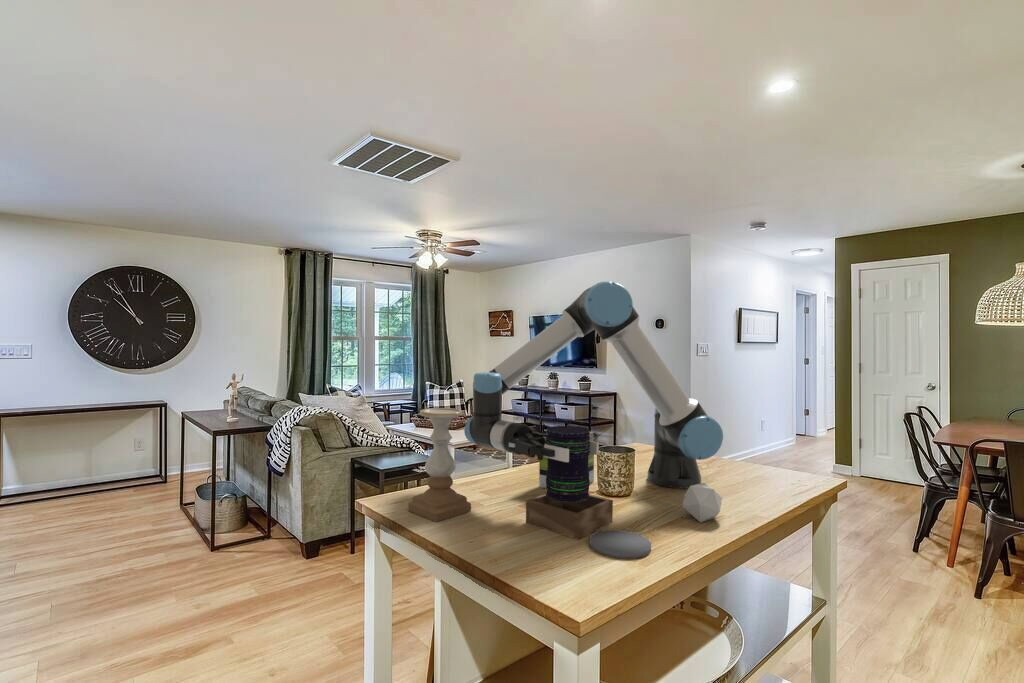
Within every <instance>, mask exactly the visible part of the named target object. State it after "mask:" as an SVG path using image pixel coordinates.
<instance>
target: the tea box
mask: <svg viewBox="0 0 1024 683" xmlns="http://www.w3.org/2000/svg"><path fill="white" fill-rule="evenodd" d="M594 434H595V433H594V431H590V434H589V436H590V441H593V442H595V439H594V437H595V435H594ZM545 445H546V443H545ZM538 467H539V469H538V470H539V471H538V472H539V474H538V476H539V477H538V480H539V484H538V485H539V487H540V488H543V489H546V490H547V488H546V478H547V477H546V471H547V469H548V458H546V457H544V456H543V460H539V464H538ZM588 471H589V480H590V483H593V482H594V481H595V456H594V454H589V456H588Z"/></svg>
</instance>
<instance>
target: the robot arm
mask: <svg viewBox="0 0 1024 683" xmlns="http://www.w3.org/2000/svg"><path fill="white" fill-rule="evenodd" d="M639 321H640V315H639V313H638V312H637V311H636V309H635V307H634V304H633V299H632V296H631V293H630V291H628V289H627V288H626V287H625V286H624V285H622V284H621V283H620V284H619V283H618V282H614V281H600V282H597V283H595V284H593V285H592V286H590V287H588V288H587V289H585V290H584V291H583V292H582V293H581V294H580V295H579V296H578V297H577V298H576V299H575V300H574V301H573V302H572V303H571V304H570V305H568V307H566V308H565V309H564V310H562V314H561V316H560V317H559V318H558V319H556V320H555V321H553V322H552V323H551V324H549V326H547V327H545V328H544V329H543V330H541V332H539V333H538V334H537V335H535V336H534V337H533V338H532V339H530V340H529V341H528V342H526V343H525V344H524V345H522V346H520V348H518V349H517V350H516V351H514V352H513V353H512V354H511V355H509V356H508V357H507V358H505V359H504V360H503V361H501V362H500V363H499V364H498V365H496V366H495V367H494V368H493V369H491V370H490V371H488V372H486V371H485V372H476V373H474V375H473V382H472V406H473V407H472V416H470V418H469V417H468V419H467V421H466V423H465V426H464V428H463V431H464V436H465V438H466V439H467V441H468V442H470V443H471V444H475V445H477V446H479V447H485V448H488V449H489V448H490V449H495V450H499V451H502V453H503V454H506V453H511V454H515V455H519V456H526V457H529V458H531V459H533V458H535V457H537V459H536V460H538V461H540V460H543V456H544V457H546V458H550V459H554V460H559V461H563V462H569V449H566V448H561V447H556V446H552V445H547V444H546V445H545V443H546V442H547V441H546V440H547V435H548V433H547V431H545V432H544V433H540V432H539V431H533V430H532V429H531V427H530V426H529V425H528V424H526V423H519V422H515V421H509V420H503V419H502V395H504V394H505V393H506V392H508V391H509V390H510V389H511V388H512V387H514V386H516V385H517V383H520V381H522V380H523V379H524V378H526V377H527V376H529V374H531V373H532V372H533V371H535V370H536V369H537V368H539V367H540V366H541V365H543V364H544V363H545V362H546V361H548V360H550V359H551V357H553V356H555V354H558V352H560V351H561V350H562V349H564V348H565V347H567V345H569V344H571V343H572V342H573V341H574V340H575V339H578V338H583V337H586V335H588V334H589V333H591V332H593V331H594V330H595V331H596V333H597V335H598V336H599V337H600V339H601V340H602V341H603V342H608V343H610V344H611V345H612V346H613V347H614V349H615V351H616V352H617V354H618V355H619V356H620V358H621V360H622V361H623V362H624V364H625V365H626V367H627V369H629V371H630V373H631V374H632V375H633V377H634V378H635V380H636V381H637V382H638V384H639V386H640V387H641V388H642V390H643V391H644V393H645V395H647V397H648V399H649V400H650V401H651V403H652V404H653V406H654V407H655V408H654V409H655V410H654V434H653V435H654V437H653V440H654V441H653V442H654V443H653V445H654V446H653V449H654V451H653V456H652V459H651V462H650V464H649V468H648V470H647V480H648V482H650V483H652V484H655V485H657V486H662V487H664V488H665V487H666V488H667V487H668V488H674V489H689V487H690V486H692V485H696V484H701V483H702V475H701V470H700V469H699V465H698V462H697V460H698V461H699V460H701V461H702V460H707V459H710V458H712V457H713V456H715V455H716V454H717V453H718V452H719V450H720V449H721V447H722V445H723V441H724V432H723V428H722V427H721V425H720V424H719V422H718V421H717V420H716V419H714V418H713V417H712V416H709V415H708V414H707V413H706V411H705V409H704V408H703V407H702V405H701V404H700V402H699V401H698V400H697V398H691V397H689V396H688V395H687V394H686V393H685V391H684V389H683V388H682V386H681V385H680V384H679V382H678V380H677V379H676V377H675V376H674V375H673V374H672V371H671V370H670V369H669V367H668V366H667V365H666V363H665V362H664V360H663V358H662V357H661V356H660V355H659V352H658V351H657V350H656V349H655V347H654V345H653V344H652V343H651V341H650V340H649V339H648V337H647V335H646V334H645V332H644V331H643V330H642V328H641V327H640V325H639V323H640V322H639ZM599 446H600V444H599V442H596V441H594V442H593V441H590V447H589V448H590V454H594V455H596V456H598V455H600V454H599V453H600V452H599V451H600V450H599V449H600V447H599Z"/></svg>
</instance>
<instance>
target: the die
mask: <svg viewBox="0 0 1024 683" xmlns="http://www.w3.org/2000/svg"><path fill="white" fill-rule="evenodd" d="M683 498H684V499H683V501H682V507H683V508H684V509H685V510H686V511H687V512H688V513H689V514H690V515H691V516H692V517H694V518H695V519H696V520H697V521H698V522H699V523H703V522H707V521H710V520H713V519H715V518H716V517H717V516H718V515H719V514H720V512H721V509H722V508H721V506H722V500H723V498H722V496H720V494H719V493H718V492H717V491H716V490H715V489H714V488H713V487H711V486H710V485H708V484H707V483H705V482H701V484H696V485H692V486H690V487H689V488H687V490H686V492H685V495H684V497H683Z"/></svg>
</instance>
